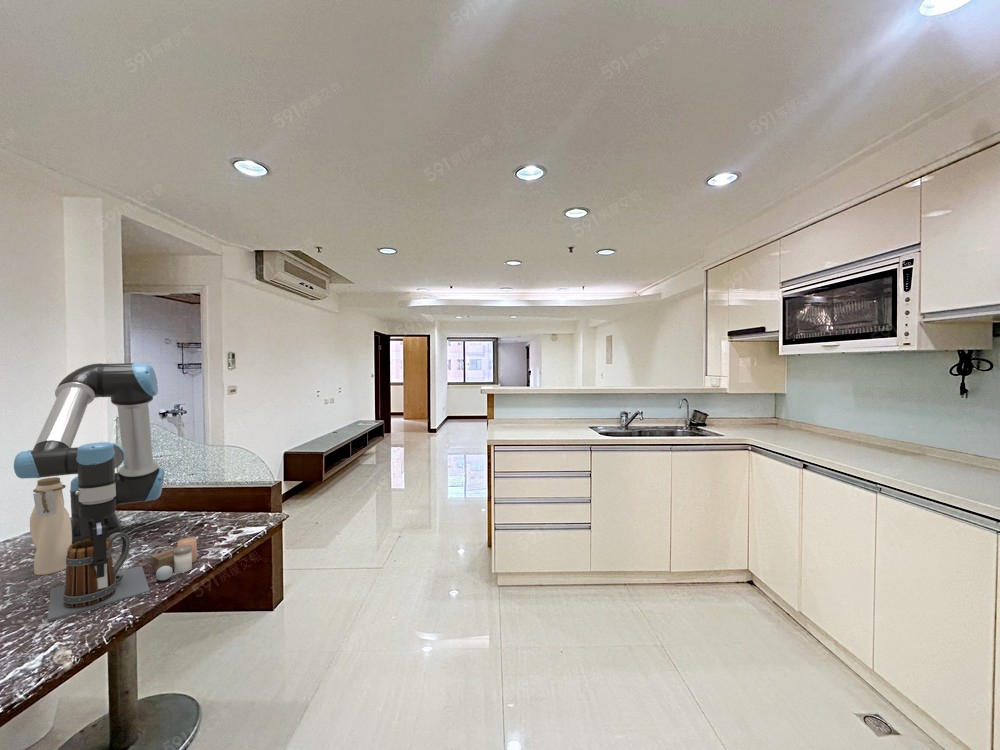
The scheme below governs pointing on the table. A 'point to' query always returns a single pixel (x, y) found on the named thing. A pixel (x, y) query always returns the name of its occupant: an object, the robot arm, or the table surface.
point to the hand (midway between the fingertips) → (100, 581)
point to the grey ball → (164, 573)
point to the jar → (182, 558)
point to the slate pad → (126, 588)
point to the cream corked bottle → (50, 527)
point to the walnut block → (162, 560)
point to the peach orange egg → (193, 543)
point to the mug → (91, 572)
